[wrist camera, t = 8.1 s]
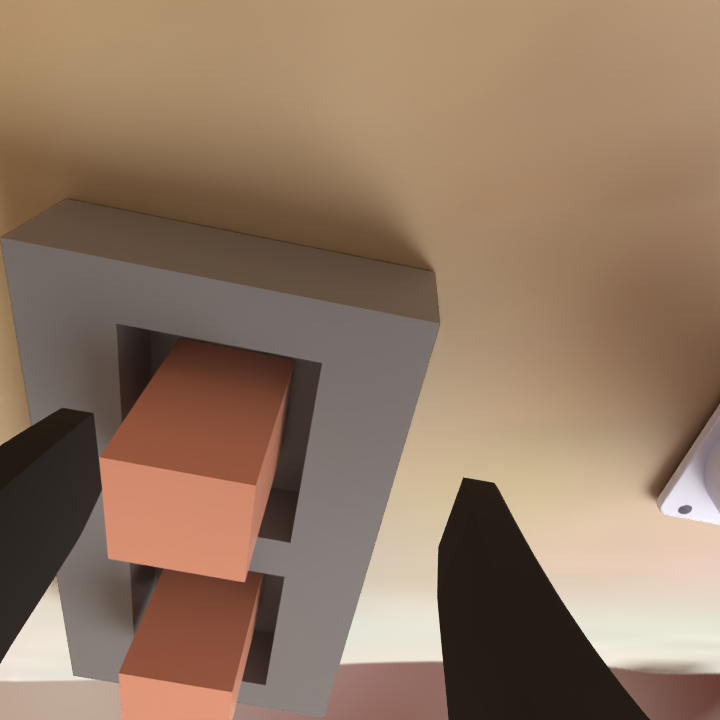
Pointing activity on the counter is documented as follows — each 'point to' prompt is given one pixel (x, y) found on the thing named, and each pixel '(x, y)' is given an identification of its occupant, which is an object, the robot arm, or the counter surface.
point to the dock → (296, 462)
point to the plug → (197, 461)
